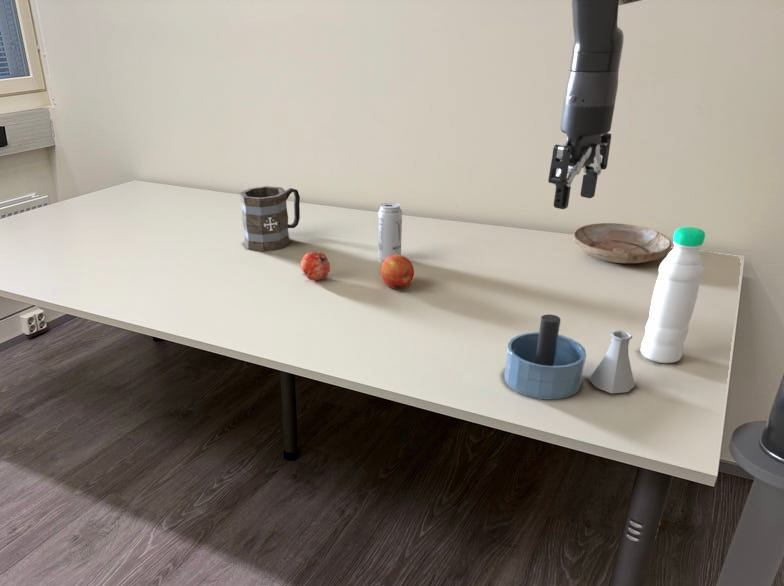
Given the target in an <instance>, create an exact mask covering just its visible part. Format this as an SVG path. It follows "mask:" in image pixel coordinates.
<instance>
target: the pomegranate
mask: <svg viewBox="0 0 784 586" xmlns="http://www.w3.org/2000/svg"><path fill="white" fill-rule="evenodd" d="M300 270H301V272H303V274H304V275H305V277H306V278H307V279H308V280H311V281H319V280H322V279H324V278H327V276H328V275H329V274H330V272H331V263H330V261H329V259H328V256H326V253H324V252H318V251H313V250H311V251H309V252H307V253H306V254H304V255H303V257H302V259H301V261H300Z"/></svg>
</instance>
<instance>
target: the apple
mask: <svg viewBox="0 0 784 586" xmlns="http://www.w3.org/2000/svg"><path fill="white" fill-rule="evenodd" d="M379 270H380V271H379V272H380V273H379V274H380V277H381V280H382V281H383V283H384V284H385V285H386V286H388V287H389V288H391V289H394V290H403V289H405V288H407V287H408V286H409V285H410V284H411V283H412V281H413V280H414V276H415V269H414V265H413V263H412V262H411V260H410V259H409V258H408V257H406V256H404V255H402V254H401V255H397V254H394V255H390V256H389V257H387V258H386V259H385V260H384V261H383V263H382V262H381V265H380V269H379Z"/></svg>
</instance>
